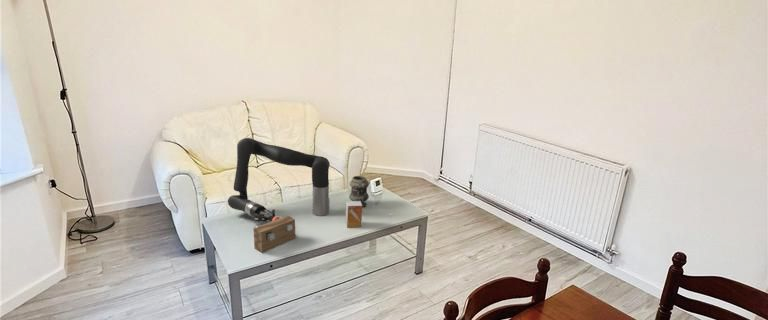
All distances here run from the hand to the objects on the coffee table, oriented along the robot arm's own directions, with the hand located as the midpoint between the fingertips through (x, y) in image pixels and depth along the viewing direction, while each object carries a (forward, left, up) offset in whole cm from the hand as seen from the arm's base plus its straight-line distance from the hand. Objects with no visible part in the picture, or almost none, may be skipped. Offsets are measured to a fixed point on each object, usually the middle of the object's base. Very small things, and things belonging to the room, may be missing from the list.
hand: (275, 220), depth 215 cm
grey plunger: (+7, +13, -2) cm, 14 cm away
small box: (-42, 0, -8) cm, 43 cm away
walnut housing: (+1, +10, -8) cm, 13 cm away
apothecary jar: (-53, -25, -8) cm, 59 cm away
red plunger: (-3, +5, -2) cm, 6 cm away
